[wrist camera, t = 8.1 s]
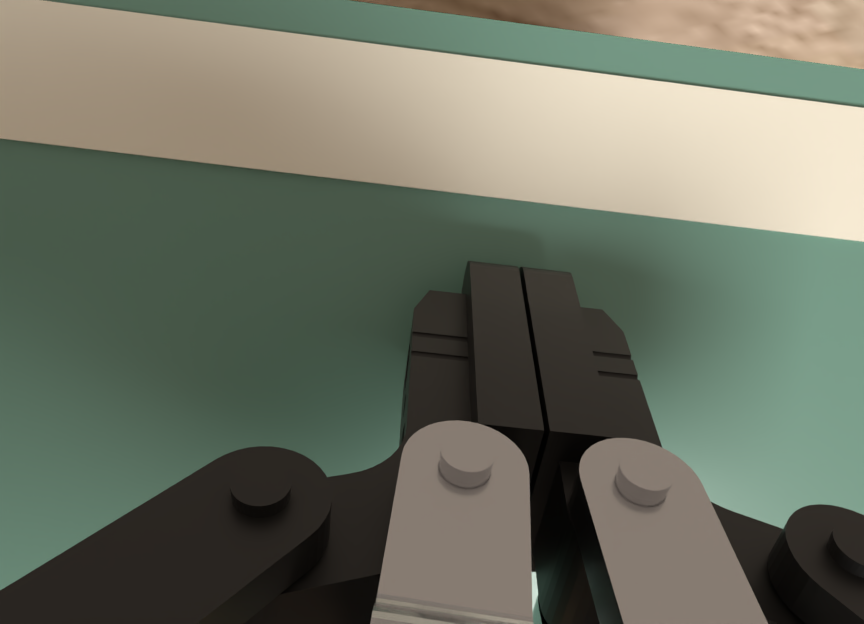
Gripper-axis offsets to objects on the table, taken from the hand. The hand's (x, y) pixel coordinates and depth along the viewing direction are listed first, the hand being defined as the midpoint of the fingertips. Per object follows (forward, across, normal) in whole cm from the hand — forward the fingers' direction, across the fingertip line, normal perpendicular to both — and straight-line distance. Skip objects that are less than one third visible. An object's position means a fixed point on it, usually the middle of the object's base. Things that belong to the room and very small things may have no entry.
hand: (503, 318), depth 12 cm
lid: (0, 0, +3) cm, 3 cm away
